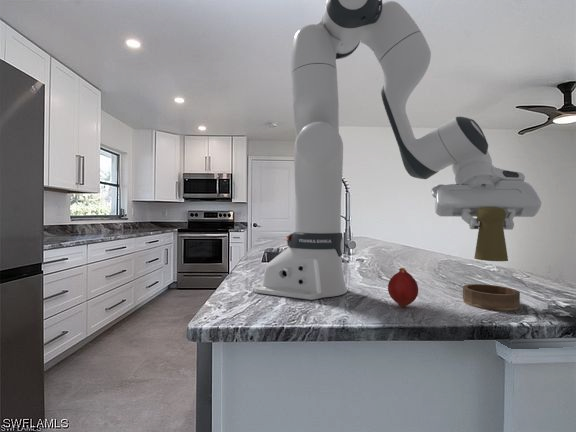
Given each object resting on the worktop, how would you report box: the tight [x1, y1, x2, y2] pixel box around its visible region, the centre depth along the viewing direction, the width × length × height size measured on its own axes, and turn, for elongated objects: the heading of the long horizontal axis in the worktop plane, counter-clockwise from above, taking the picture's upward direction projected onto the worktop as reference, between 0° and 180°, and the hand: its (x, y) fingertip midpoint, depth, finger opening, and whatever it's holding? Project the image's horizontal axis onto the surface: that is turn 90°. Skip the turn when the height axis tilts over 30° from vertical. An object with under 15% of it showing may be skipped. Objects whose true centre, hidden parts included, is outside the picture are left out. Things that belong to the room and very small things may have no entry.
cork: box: [474, 207, 509, 262], centre depth 68 cm, size 6×6×11 cm
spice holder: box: [462, 283, 521, 312], centre depth 68 cm, size 10×10×3 cm
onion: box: [387, 267, 419, 308], centre depth 66 cm, size 6×6×8 cm
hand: (492, 227), depth 68 cm, fingers closed on cork, 5 cm apart
